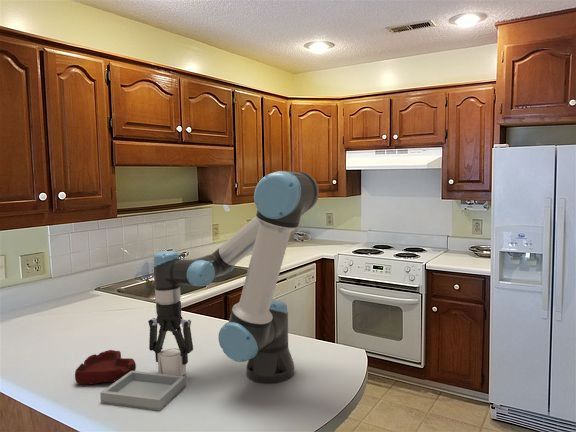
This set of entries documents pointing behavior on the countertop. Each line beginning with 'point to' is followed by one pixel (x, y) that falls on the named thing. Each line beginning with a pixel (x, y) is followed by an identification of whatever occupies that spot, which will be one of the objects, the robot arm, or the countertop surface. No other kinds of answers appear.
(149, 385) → the tray
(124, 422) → the countertop surface
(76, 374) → the ashtray
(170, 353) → the white cup
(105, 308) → the countertop surface
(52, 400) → the countertop surface
